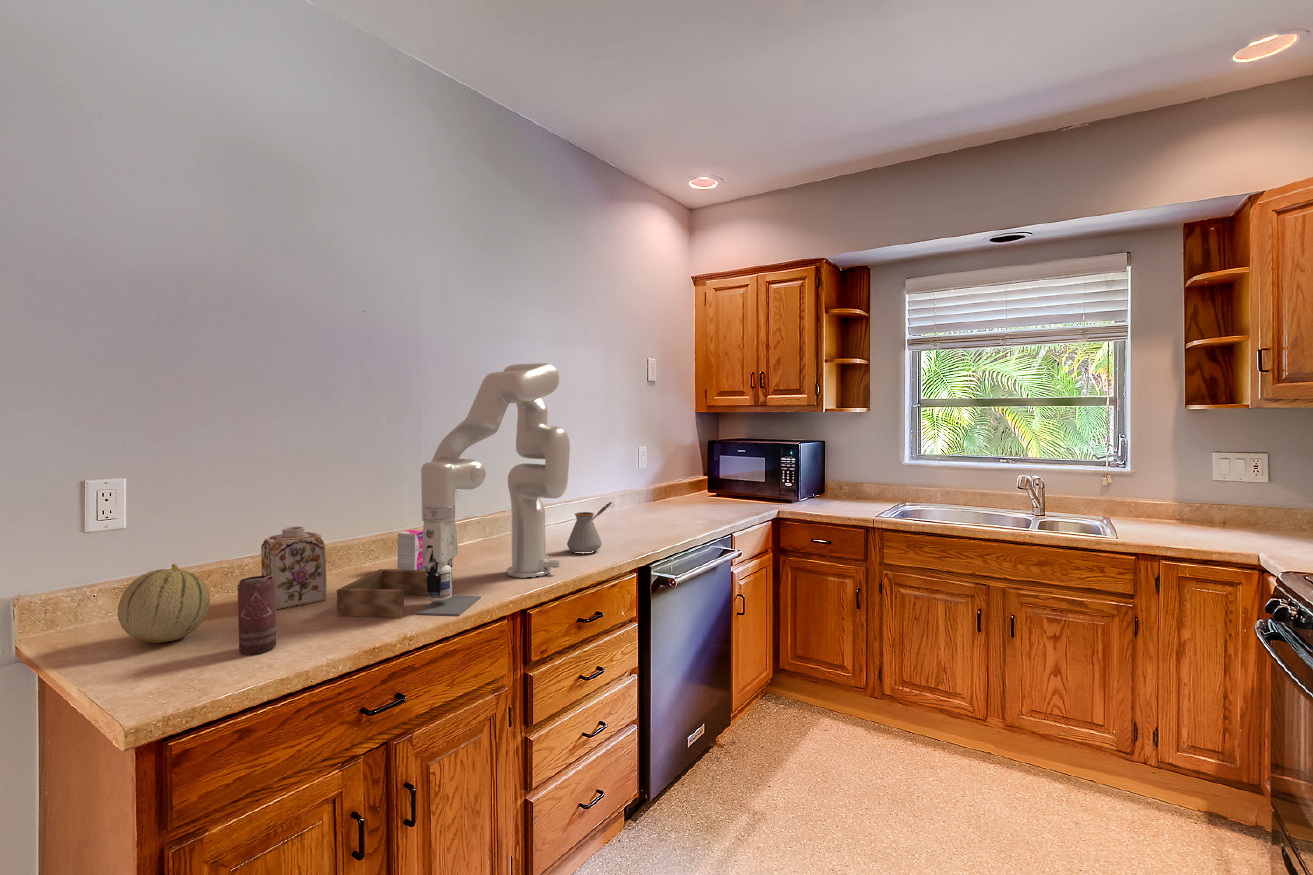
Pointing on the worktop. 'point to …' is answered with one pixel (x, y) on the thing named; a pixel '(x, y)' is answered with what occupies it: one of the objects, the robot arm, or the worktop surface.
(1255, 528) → the worktop surface
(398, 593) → the open box
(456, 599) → the mat
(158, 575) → the cantaloupe
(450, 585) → the pill bottle
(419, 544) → the supplement box
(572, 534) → the coffee pot
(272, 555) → the decorative jar
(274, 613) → the can
